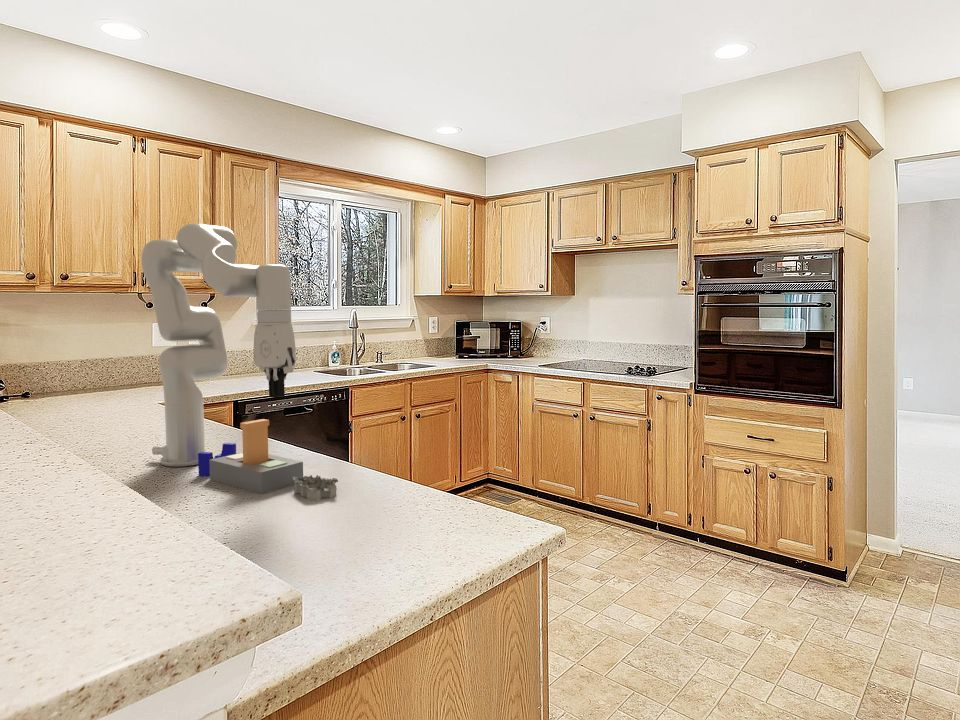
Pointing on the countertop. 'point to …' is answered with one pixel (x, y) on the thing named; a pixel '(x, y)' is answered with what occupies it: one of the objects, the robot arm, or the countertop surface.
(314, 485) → the egg carton
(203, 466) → the cable clip
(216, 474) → the breaker box
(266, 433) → the breaker lever
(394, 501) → the countertop surface
